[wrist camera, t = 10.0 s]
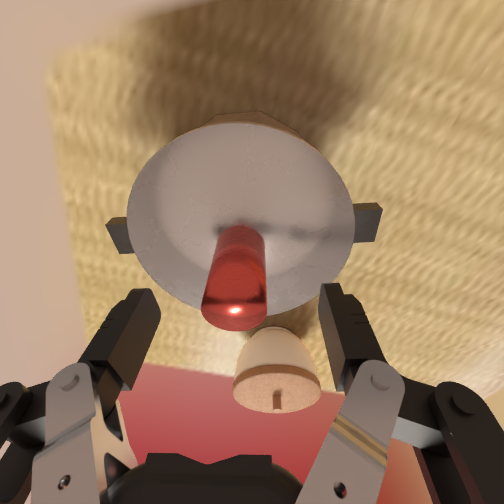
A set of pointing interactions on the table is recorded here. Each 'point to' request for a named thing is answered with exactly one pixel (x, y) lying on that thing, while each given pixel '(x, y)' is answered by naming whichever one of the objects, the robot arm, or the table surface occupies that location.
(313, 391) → the lidded jar
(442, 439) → the robot arm
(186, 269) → the lid
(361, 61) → the table surface
